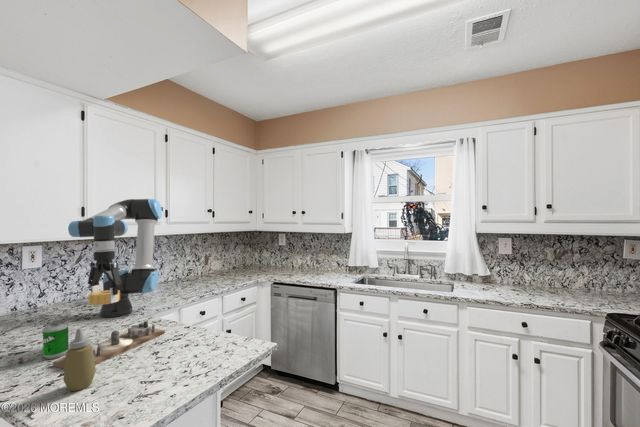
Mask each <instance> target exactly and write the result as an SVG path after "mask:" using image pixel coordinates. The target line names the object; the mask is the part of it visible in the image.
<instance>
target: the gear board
mask: <svg viewBox="0 0 640 427" xmlns="http://www.w3.org/2000/svg"><path fill="white" fill-rule="evenodd" d="M164 333H165V334H166V330H164V329H160V328H159V329H158V328H156V325H155V323H154V324H153V322H149V321H148V320H145V321H143V322H141V323H139V324H133V325H131V327H128V328H127V332H126V333H123V334H120V332H119V331H118V330H114V331H112V332H111V334H110V339H108V340H105V341H103V342H101V343H94V344H93V343H92V344H91V343H89V345H91V346H92V348H93V355H94V362H95V366H96V365H98V364H101V363H103V362H105V361H107V360H110V359H112V358H114V357H117V356H118V355H120V354H123V353H125V352H127V351H129V350H132V349H133V348H136V347H138V346H140V345H143V344H145V343H146V342H149V341H152V340H154V339H156V338H158V337H161V336H162V334H163V335H165V334H164ZM160 335H161V336H160ZM65 360H66V356H64V357H62V358H60V359H57V360H54V361H53V362H52V365H53V367H56V368H59V369H64V370H65Z"/></svg>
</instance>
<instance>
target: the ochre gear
mask: <svg viewBox="0 0 640 427" xmlns="http://www.w3.org/2000/svg"><path fill="white" fill-rule="evenodd" d="M119 300H120V290H118V294H117V302H118V301H119ZM103 304H110V290H107V291H103V290H99V292H95V293H92V292H91V293H90V294H88V305H89V306H91V305H92V306H100V305H101V306H102V305H103Z"/></svg>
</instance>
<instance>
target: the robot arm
mask: <svg viewBox="0 0 640 427" xmlns="http://www.w3.org/2000/svg"><path fill="white" fill-rule="evenodd" d="M162 216H163V210H162V205H161V203H160V201H159V200H157V199H154V198H143V199H142V198H137V199H136V198H134V199H133V198H130V199H124V200H121V201H118V202H116V203H113V204H111V205H109V206H108V208H107V209H105V210H103V211H101V212H98V213H97V214H94V215H92V216H90V217H88V218H85V219H84V220H73V221H71V222H70V223H69V225H68V227H67V228H68V234H69V235H70V236H71V237H72V238H93V251H94V252H93V261H94V262H91V263H90V269H89V270H90V271H89V275H88V278H87V284H88V285H89V286H91V293H95V292H100V280H101V278H102V276H103V278H102V279H103V280H102V289H103V290H102V291H107V290H110V304H103V305H101V307H100V310H99V317H101V318H116V317H121V316H125V315H128V314H130V313H132V312H133V306H132V302H131V300H130V298H129V297H130V296H129V294H132V295H133V294H147V293H152V292H154V291H155V290H156V289H157V287H158V283H159V280H160V278H159V272H158V271H157V270H156V268H155V266H153V260H154V259H153V258H154V244H155V243H154V241H155V226H156V224H157V223H158V221H159V220H160V219H161V218H162ZM124 220H134V222H135V223H136V224H137V230H136V231H137V233H136V234H137V235H136V248H135V260H134V261H135V262H134V263H135V264H134V266H133V267H132V268H131V272H129V269H122V270H119V263H118V262H113V260H114V259H115V255H116V253H115V248H116V246H115V243H116V242H115V237H120V236H123V235H125V234H126V233H127V232H128V230H129V226H128V224H127V222H125V221H124ZM95 261H96V262H95ZM103 274H104V275H103ZM118 290H120V300H119V301H118V302H117V294H118Z"/></svg>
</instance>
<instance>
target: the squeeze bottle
mask: <svg viewBox="0 0 640 427" xmlns="http://www.w3.org/2000/svg"><path fill="white" fill-rule="evenodd" d="M82 329H83V328H77V329H76V332H75V337H74V340H72V341H70V342H69V350H68V351H67V352H66V354H65V357H66V360H65V369H64V370H63V382H64V384H65V386H66V389H67V390H68V391H70V392H77V391H81V390H83V389H87V388H88V387H89V386H91V385H92V384H93V381H94V377H95V375H96V371H97V370H96V365H95V362H94V355H93V348H92V346H91V345H89V344H90V342H89V338H88V337H84V336H85V335H84V332H83V330H82Z"/></svg>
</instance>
